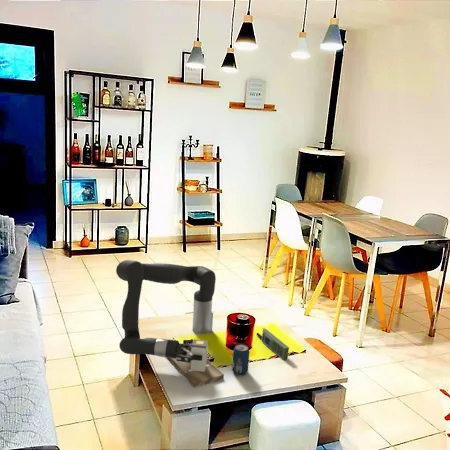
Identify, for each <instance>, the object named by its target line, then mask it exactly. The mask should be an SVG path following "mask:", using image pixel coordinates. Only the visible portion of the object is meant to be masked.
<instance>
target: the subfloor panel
mask: <svg viewBox="0 0 450 450" xmlns="http://www.w3.org/2000/svg"><path fill="white" fill-rule="evenodd" d="M190 353H191V352H190ZM167 359H168V360H169V361H170V362H171V364H172V365H173V366H174V367H175V368H176V369H177V370H178V372H180V373H181V375H183V377H184V378H185V379H186V381H188V382H189V383H190V385H191V386H192V387H193V388H198V387H200V386H203V385H204V386H205V385H207V384H210V383H213V382H217V381H220V380H223V379H224V376H225V374H224V373H223V372H222V371H221V370H220V369H219V368H217V366H216V365H214V363H212V362H211V361H210V360H209V359H208V358H207V366H206V369H205V372H201V371H193V370H191V361H190V363H187V362H181V361H177V358H167ZM185 360H188V359H186V358H185Z"/></svg>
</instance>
